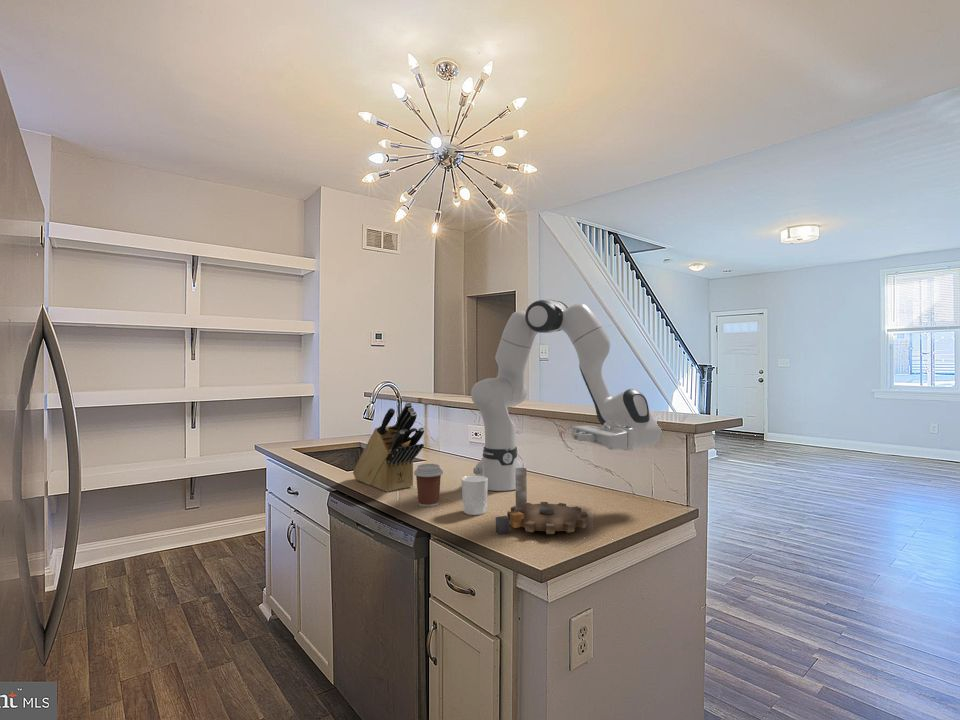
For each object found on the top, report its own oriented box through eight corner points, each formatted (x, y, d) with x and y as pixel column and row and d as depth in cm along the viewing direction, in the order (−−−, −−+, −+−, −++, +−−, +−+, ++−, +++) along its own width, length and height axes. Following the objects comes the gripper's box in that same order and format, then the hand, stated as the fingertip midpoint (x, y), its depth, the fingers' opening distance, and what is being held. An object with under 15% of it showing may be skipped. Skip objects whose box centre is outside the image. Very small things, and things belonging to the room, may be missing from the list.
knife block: (399, 498, 167) (398, 404, 167) (352, 479, 194) (351, 398, 194) (428, 492, 174) (427, 402, 174) (378, 475, 201) (378, 397, 201)
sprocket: (507, 533, 128) (507, 478, 128) (507, 508, 150) (506, 460, 150) (593, 534, 127) (593, 478, 127) (581, 508, 149) (580, 461, 149)
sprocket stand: (490, 528, 136) (490, 514, 136) (552, 519, 144) (551, 505, 144) (504, 538, 129) (503, 522, 129) (567, 528, 136) (567, 513, 136)
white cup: (458, 509, 154) (457, 476, 154) (482, 506, 157) (482, 474, 157) (466, 517, 147) (466, 482, 147) (492, 514, 149) (491, 480, 149)
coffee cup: (409, 502, 162) (408, 465, 162) (434, 498, 167) (433, 461, 167) (422, 509, 154) (422, 470, 154) (448, 504, 160) (448, 466, 160)
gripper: (594, 420, 164) (557, 422, 159) (636, 429, 145) (596, 431, 140) (593, 439, 164) (557, 442, 159) (636, 451, 145) (596, 454, 140)
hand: (575, 437), depth 149 cm, fingers closed
